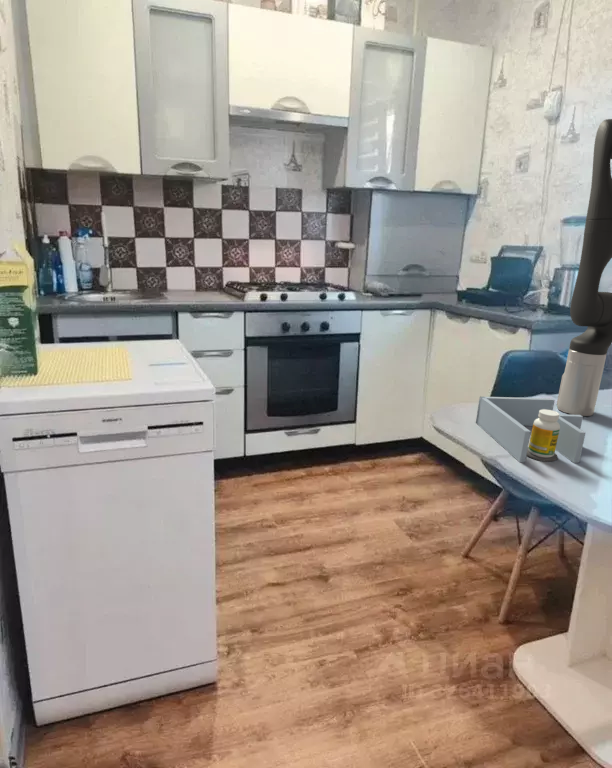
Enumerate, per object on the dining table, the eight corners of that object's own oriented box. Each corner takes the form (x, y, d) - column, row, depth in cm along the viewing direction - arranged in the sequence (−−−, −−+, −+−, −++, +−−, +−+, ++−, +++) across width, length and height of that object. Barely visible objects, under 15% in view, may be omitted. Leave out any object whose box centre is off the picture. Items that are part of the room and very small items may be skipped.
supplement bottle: (531, 446, 123) (539, 406, 120) (556, 453, 120) (565, 412, 117) (524, 453, 119) (533, 412, 116) (550, 460, 116) (559, 418, 113)
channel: (475, 422, 137) (479, 396, 135) (547, 424, 139) (552, 398, 137) (519, 462, 115) (525, 431, 113) (604, 463, 117) (611, 433, 115)
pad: (517, 448, 122) (517, 446, 122) (546, 448, 123) (547, 447, 123) (532, 461, 116) (533, 459, 115) (563, 461, 116) (564, 460, 116)
